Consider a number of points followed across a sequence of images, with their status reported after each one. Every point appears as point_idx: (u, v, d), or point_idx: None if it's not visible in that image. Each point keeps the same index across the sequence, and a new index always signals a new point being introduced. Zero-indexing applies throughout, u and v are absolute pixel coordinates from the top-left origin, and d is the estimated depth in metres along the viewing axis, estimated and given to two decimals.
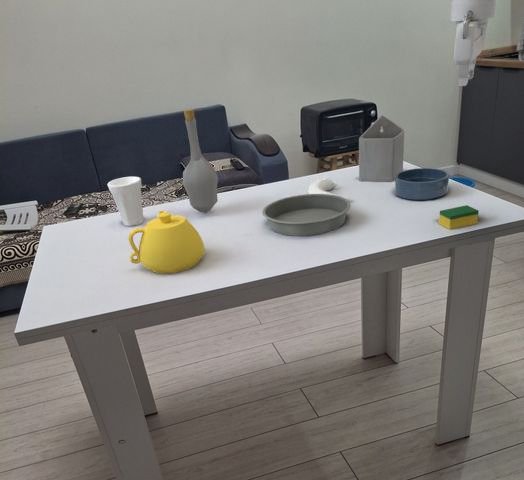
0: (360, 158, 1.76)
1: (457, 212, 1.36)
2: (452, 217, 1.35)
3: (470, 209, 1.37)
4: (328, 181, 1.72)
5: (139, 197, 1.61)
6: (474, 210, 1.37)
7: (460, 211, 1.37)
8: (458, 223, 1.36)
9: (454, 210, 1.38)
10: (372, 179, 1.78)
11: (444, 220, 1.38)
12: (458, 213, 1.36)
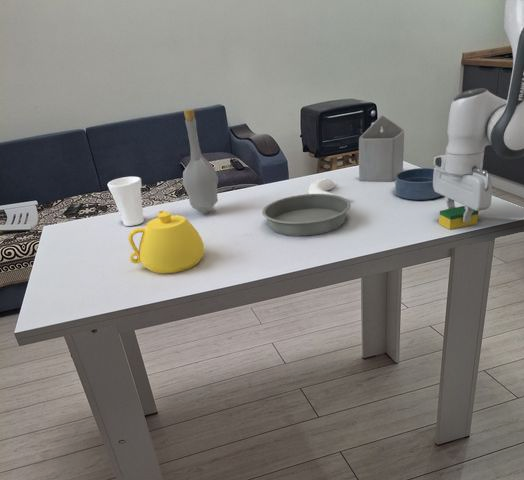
0: (360, 158, 1.76)
1: (457, 212, 1.36)
2: (452, 217, 1.35)
3: None
4: (328, 181, 1.72)
5: (139, 197, 1.61)
6: (474, 210, 1.36)
7: (460, 211, 1.37)
8: (458, 223, 1.36)
9: (454, 210, 1.38)
10: (372, 179, 1.78)
11: (444, 220, 1.38)
12: (458, 213, 1.36)
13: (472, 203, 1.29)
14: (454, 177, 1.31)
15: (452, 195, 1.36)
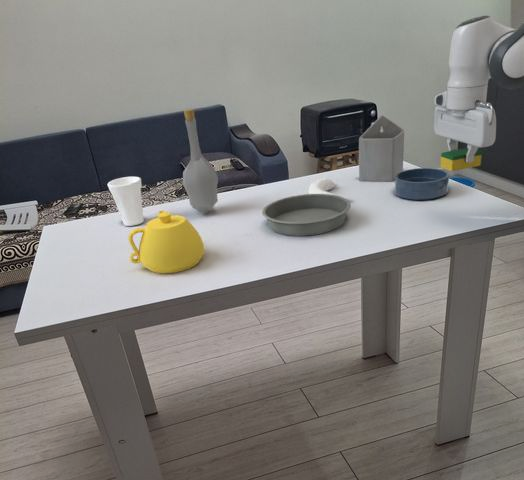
0: (360, 158, 1.76)
1: (459, 153, 1.30)
2: (454, 158, 1.29)
3: None
4: (328, 181, 1.72)
5: (139, 197, 1.61)
6: (477, 151, 1.30)
7: (463, 152, 1.31)
8: (461, 164, 1.30)
9: (456, 151, 1.32)
10: (372, 179, 1.78)
11: (446, 162, 1.32)
12: (461, 154, 1.30)
13: (475, 139, 1.23)
14: (456, 114, 1.25)
15: (454, 135, 1.30)
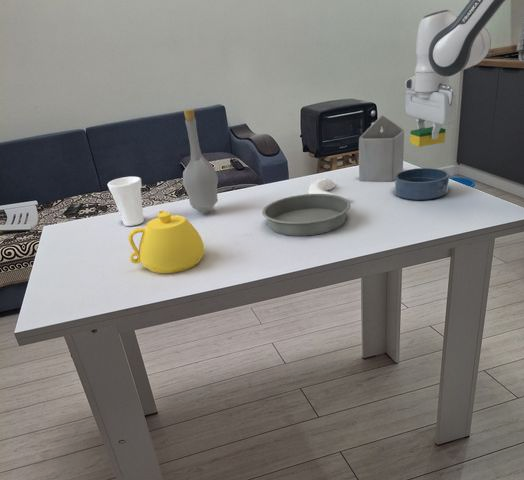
0: (360, 158, 1.76)
1: (426, 131, 1.49)
2: (421, 134, 1.47)
3: None
4: (328, 181, 1.72)
5: (139, 197, 1.61)
6: (441, 129, 1.49)
7: (429, 130, 1.49)
8: (427, 140, 1.49)
9: (423, 129, 1.50)
10: (372, 179, 1.78)
11: (414, 139, 1.50)
12: (427, 131, 1.48)
13: (438, 118, 1.41)
14: (422, 96, 1.44)
15: (421, 114, 1.48)
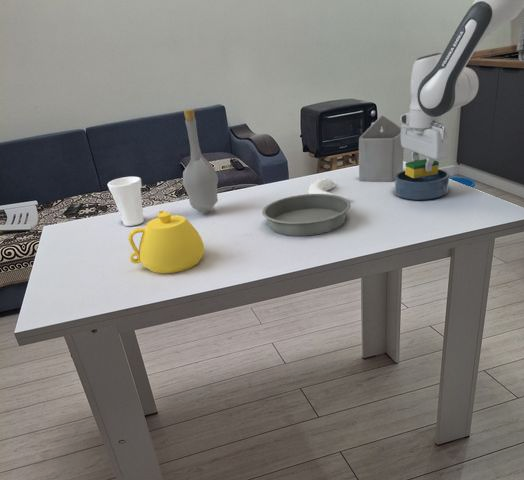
0: (360, 158, 1.76)
1: (420, 163, 1.57)
2: (415, 167, 1.55)
3: None
4: (328, 181, 1.72)
5: (139, 197, 1.61)
6: (435, 161, 1.57)
7: (423, 162, 1.57)
8: (421, 172, 1.57)
9: (417, 162, 1.58)
10: (372, 179, 1.78)
11: (409, 171, 1.58)
12: (421, 164, 1.56)
13: (431, 153, 1.49)
14: (416, 131, 1.52)
15: (416, 148, 1.56)
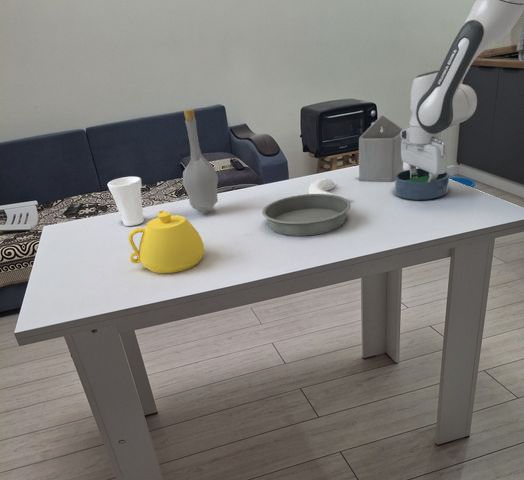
0: (360, 158, 1.76)
1: (419, 181, 1.60)
2: None
3: None
4: (328, 181, 1.72)
5: (139, 197, 1.61)
6: None
7: (422, 180, 1.60)
8: None
9: (417, 179, 1.61)
10: (372, 179, 1.78)
11: None
12: None
13: (431, 168, 1.51)
14: (416, 147, 1.54)
15: (416, 163, 1.58)
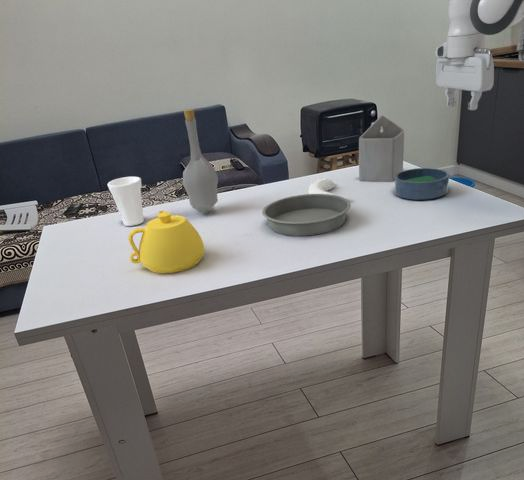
0: (360, 158, 1.76)
1: (419, 181, 1.60)
2: None
3: (431, 179, 1.60)
4: (328, 181, 1.72)
5: (139, 197, 1.61)
6: (434, 179, 1.60)
7: (422, 180, 1.60)
8: None
9: (417, 179, 1.61)
10: (372, 179, 1.78)
11: None
12: None
13: (475, 85, 1.30)
14: (456, 62, 1.33)
15: (455, 83, 1.37)
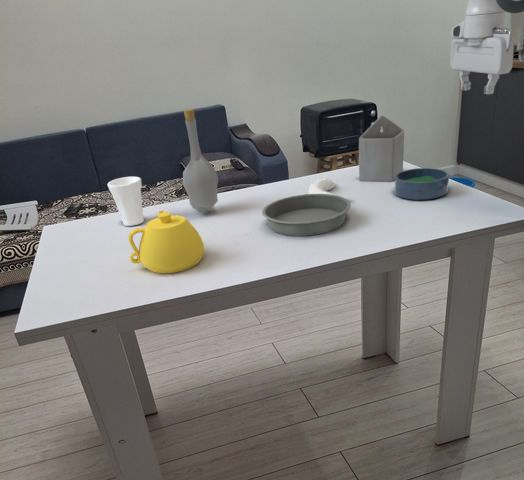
0: (360, 158, 1.76)
1: (419, 181, 1.60)
2: None
3: (431, 179, 1.60)
4: (328, 181, 1.72)
5: (139, 197, 1.61)
6: (434, 179, 1.60)
7: (422, 180, 1.60)
8: None
9: (417, 179, 1.61)
10: (372, 179, 1.78)
11: None
12: None
13: (492, 67, 1.24)
14: (473, 43, 1.27)
15: (471, 66, 1.31)
